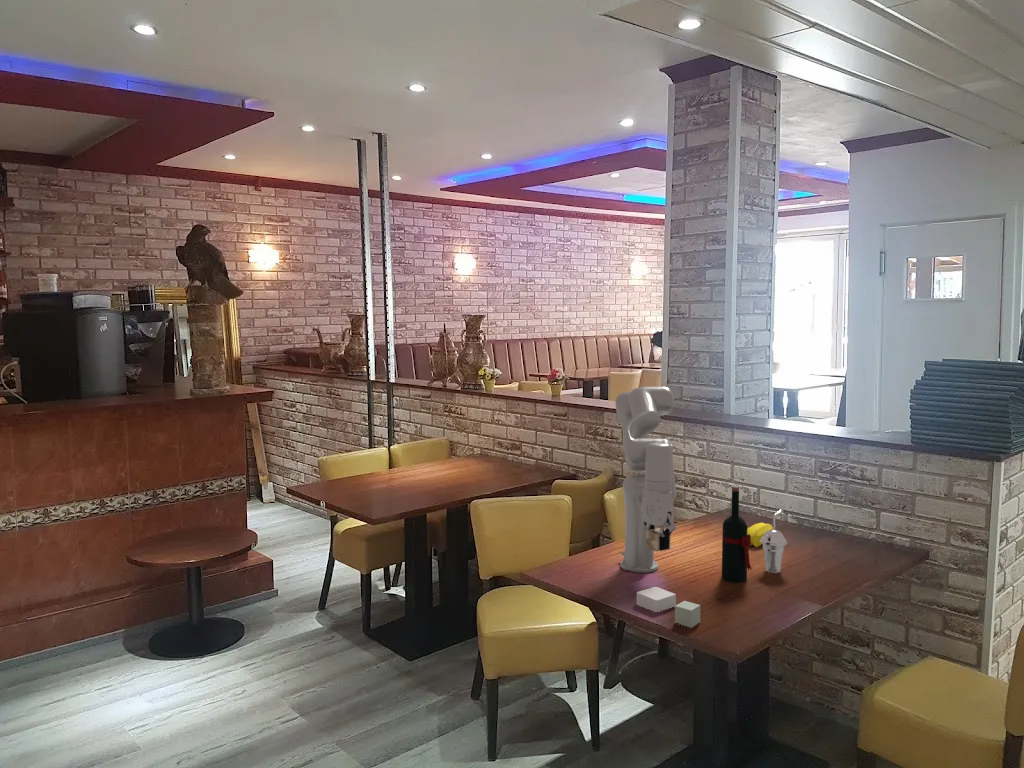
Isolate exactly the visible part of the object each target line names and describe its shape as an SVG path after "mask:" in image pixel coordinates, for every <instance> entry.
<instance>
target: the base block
mask: <svg viewBox="0 0 1024 768" xmlns="http://www.w3.org/2000/svg"><path fill="white" fill-rule="evenodd" d="M636 605H637V606H639V607H641V608H643V607H644V609H646V610H648V609H649V610H648V611H650V610H652V611H651V612H653V611H654V612H653V613H655V612H659V613H661V612H660V611H662V610H665V611H666V609H668V610H670V609H669V608H671V609H673V608H672V607H674V608H675V606H676V605H677V594H676V593H674V592H672V591H668V590H666V589H664V588H661V587H658V586H653V587H650V588H646V589H643V590H639V591H637V592H636ZM662 612H663V611H662Z"/></svg>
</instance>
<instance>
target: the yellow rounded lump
mask: <svg viewBox="0 0 1024 768" xmlns="http://www.w3.org/2000/svg"><path fill="white" fill-rule="evenodd" d="M768 530H773V525H772V524H770V523H765V522H759V523H754V524H753V525H751V526H750V527H747V535H749V534H750V536H751V544H750V546H749V547H752V546H754V547H756V548H758V547H757V546H759V547H761V544H762V543H761V542H760V540H761V538H762V537H763V535H764V533H765V532H766V531H768ZM762 545H763V544H762Z"/></svg>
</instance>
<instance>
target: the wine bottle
mask: <svg viewBox="0 0 1024 768" xmlns="http://www.w3.org/2000/svg"><path fill="white" fill-rule="evenodd" d="M739 509H740V486H739V487H738V486H731V515H730V516H728V517H726V518H725V519H724V520H723V522H722V539H721V540H722V543H721V544H722V546H721V580H722V579H723V580H722V581H724V582H725V583H726V582H727V583H730V584H742V583H743V584H744V583H746V582H748V572H749V571H750V570H751V571H753V570H752V566H751V564H750V554H749V551H750V550H749V547H751V546H750V544H751V536H750V534H749V535H747V529H748V524H747V522H746V520H745V519H744V518H743V517H741V516H739V514H740V513H739V512H740V510H739Z"/></svg>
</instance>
